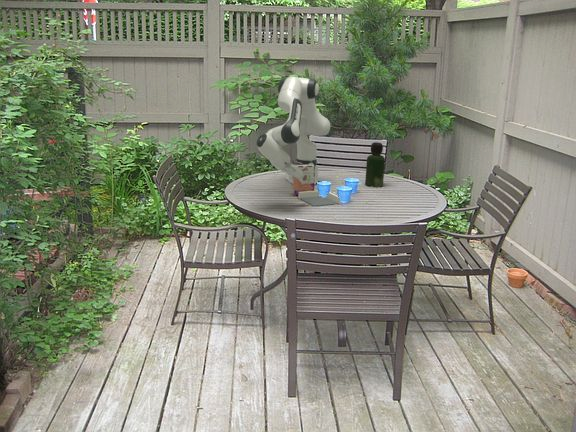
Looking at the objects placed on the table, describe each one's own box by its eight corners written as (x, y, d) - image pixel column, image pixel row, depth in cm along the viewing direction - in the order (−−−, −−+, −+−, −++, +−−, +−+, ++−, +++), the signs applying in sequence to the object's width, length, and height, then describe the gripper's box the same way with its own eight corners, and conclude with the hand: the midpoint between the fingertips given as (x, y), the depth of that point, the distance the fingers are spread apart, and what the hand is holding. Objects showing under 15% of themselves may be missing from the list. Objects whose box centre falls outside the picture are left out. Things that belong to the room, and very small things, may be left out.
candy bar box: (311, 193, 349) (312, 163, 344) (314, 195, 344) (315, 165, 340) (291, 193, 346) (292, 164, 341) (294, 196, 341) (295, 166, 337)
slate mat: (299, 199, 336) (299, 198, 335) (323, 197, 342) (323, 196, 342) (313, 206, 322) (313, 205, 322) (338, 204, 328) (338, 203, 328)
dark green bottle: (386, 186, 371) (389, 144, 364) (370, 187, 367) (373, 144, 360) (377, 183, 380) (380, 141, 373) (361, 183, 376) (364, 141, 370)
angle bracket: (293, 188, 322) (293, 171, 319) (307, 187, 325) (307, 170, 322) (297, 191, 317) (298, 173, 315) (311, 189, 321) (312, 172, 318)
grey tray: (298, 198, 337) (298, 191, 336) (324, 196, 344) (325, 189, 343) (313, 206, 322) (314, 199, 321) (341, 204, 329) (341, 197, 328)
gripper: (295, 160, 303) (312, 179, 310) (277, 152, 321) (293, 170, 328) (286, 170, 302) (303, 188, 309) (268, 161, 320) (285, 179, 327)
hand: (298, 179), depth 319 cm, fingers closed on angle bracket, 5 cm apart
